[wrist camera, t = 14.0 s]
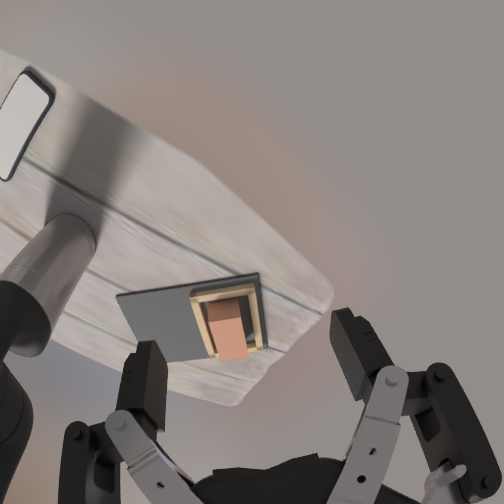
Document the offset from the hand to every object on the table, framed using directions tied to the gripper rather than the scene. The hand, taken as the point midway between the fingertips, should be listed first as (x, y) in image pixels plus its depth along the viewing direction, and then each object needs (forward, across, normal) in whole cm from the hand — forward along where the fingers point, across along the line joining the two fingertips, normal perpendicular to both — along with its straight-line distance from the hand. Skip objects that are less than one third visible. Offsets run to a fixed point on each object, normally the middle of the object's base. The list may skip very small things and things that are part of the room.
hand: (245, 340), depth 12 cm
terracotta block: (+28, +3, +26) cm, 38 cm away
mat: (+28, +9, +26) cm, 39 cm away
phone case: (+29, +30, -15) cm, 44 cm away
